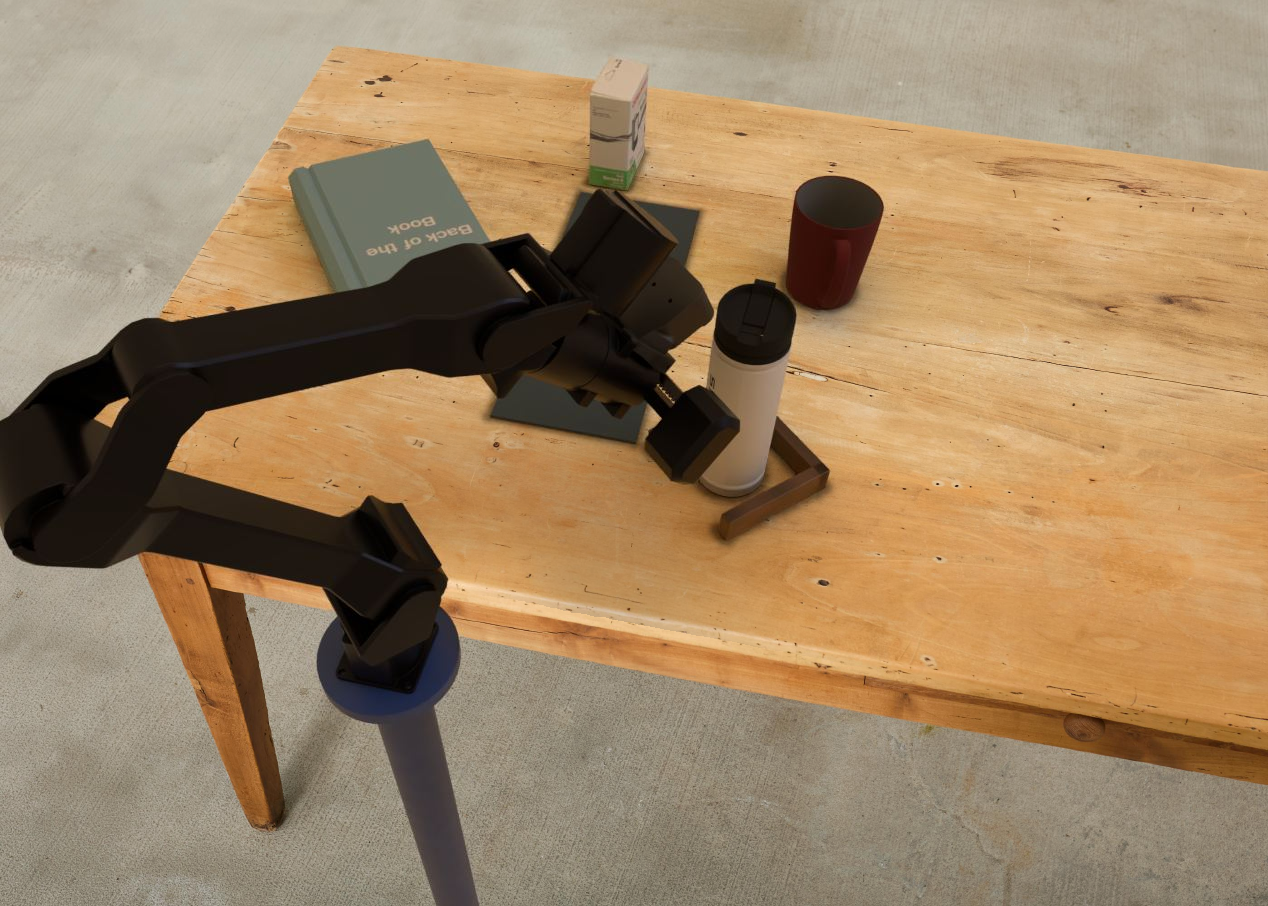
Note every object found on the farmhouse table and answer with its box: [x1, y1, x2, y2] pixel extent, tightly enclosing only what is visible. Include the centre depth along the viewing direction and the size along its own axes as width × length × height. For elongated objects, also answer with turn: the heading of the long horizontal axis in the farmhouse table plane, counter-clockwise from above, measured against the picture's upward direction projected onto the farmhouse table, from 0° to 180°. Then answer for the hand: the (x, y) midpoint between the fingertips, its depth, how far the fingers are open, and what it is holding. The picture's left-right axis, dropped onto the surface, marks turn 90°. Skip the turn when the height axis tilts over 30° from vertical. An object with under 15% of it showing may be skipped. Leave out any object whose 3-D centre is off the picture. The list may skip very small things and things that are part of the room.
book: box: [287, 138, 491, 293], centre depth 113 cm, size 23×16×5 cm
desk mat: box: [489, 191, 700, 445], centre depth 110 cm, size 36×14×1 cm, turn 168°
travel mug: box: [698, 278, 797, 498], centre depth 89 cm, size 6×7×20 cm
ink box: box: [588, 57, 650, 191], centre depth 121 cm, size 9×5×12 cm, turn 166°
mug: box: [785, 175, 885, 310], centre depth 108 cm, size 12×9×11 cm
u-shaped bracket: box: [647, 415, 831, 541], centre depth 96 cm, size 11×12×2 cm
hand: (694, 397), depth 85 cm, fingers open, 9 cm apart
